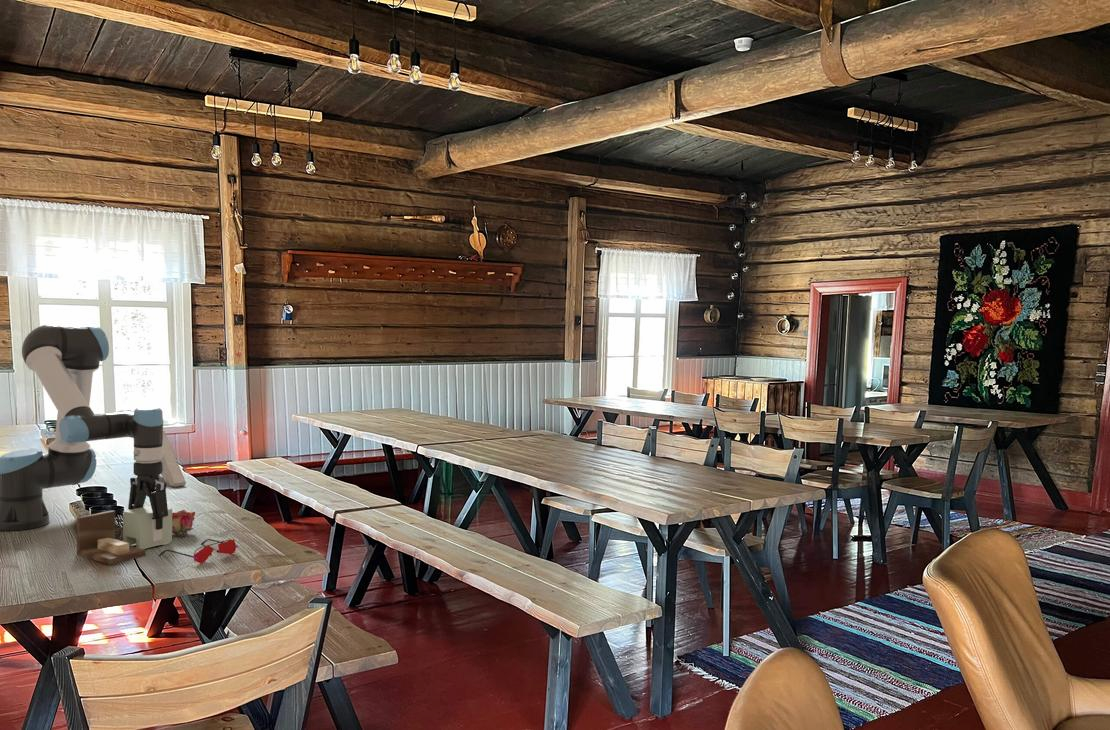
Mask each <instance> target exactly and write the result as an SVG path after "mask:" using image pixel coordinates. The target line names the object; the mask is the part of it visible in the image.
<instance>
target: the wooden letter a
mask: <svg viewBox="0 0 1110 730" xmlns="http://www.w3.org/2000/svg"><path fill="white" fill-rule="evenodd" d="M167 436H168V435H167V434H166V432H165V430H163V443H162V445H163V458H162V459H161V461H162V462H163V471H162V473H161V474H160V475H161V477H162V478H163V479H164V481H165V482H166V485H167V484H168V485H167V486H169V487H170V486H172V487H173V488H175V487H183V486H184V487H185V486H186V484H187V482H186V479H185V476H184V474H183V472H182V470H181V467H180V464H179V463H178V460H177V458H176V455H175V453H174V451H173V448H172V446H171V443H170V441H169V439H168V437H167Z"/></svg>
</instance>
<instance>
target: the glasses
mask: <svg viewBox="0 0 1110 730" xmlns="http://www.w3.org/2000/svg"><path fill="white" fill-rule="evenodd" d="M208 541H211V542H215V543H211V544H207V545H204V544H205V543H206V542H208ZM200 545H202V546H200V547H198V548H196V549H195V551H194V553H193V555H190V554H186V553H182V552H178V551H176V550H171V549H165V550H164V551H161V553H159V554H158V557H161V556H162V555H163V554H165V553H166V552H171V553H173V554H178V555H181V556H186V557H189V558H192V559H193V561H194V562H197V563H198V564H199V563H200V564H204V563H206V561H207V560H208V558H209V557H211V556H213V552H214V550H215V548H213V546H212V545H217V547H218V549H216V553H217V554H227V555H233V554H232V553H234V554H235V552H236V550H237V548H238V547H239V546H238V545H237V544H236V542H235V539H226V540H222V541H219V540H216V539H211V538H207V539H205V540H204V541H202V542H201V543H200ZM203 545H204V546H203ZM199 549H200V550H199ZM198 550H199V551H198ZM203 562H204V563H203Z"/></svg>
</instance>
